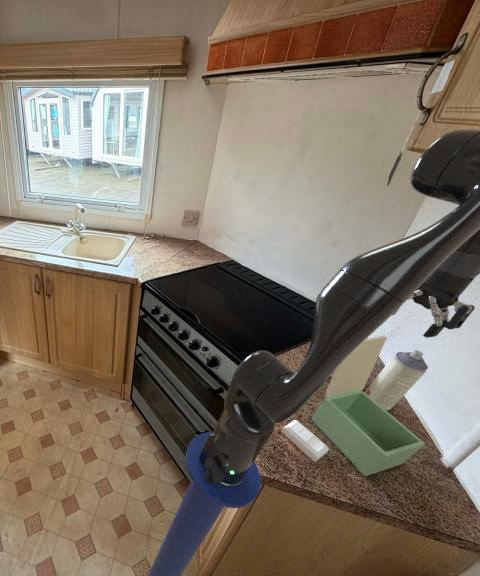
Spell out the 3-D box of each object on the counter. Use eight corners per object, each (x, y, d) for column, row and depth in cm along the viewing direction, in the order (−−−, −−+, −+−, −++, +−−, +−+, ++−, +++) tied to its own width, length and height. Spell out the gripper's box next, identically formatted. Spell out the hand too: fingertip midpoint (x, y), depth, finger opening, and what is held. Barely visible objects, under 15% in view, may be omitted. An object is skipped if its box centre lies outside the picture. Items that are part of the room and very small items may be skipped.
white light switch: (292, 423, 83) (296, 417, 82) (325, 453, 77) (331, 447, 75) (280, 431, 81) (284, 425, 80) (314, 462, 75) (319, 456, 73)
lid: (387, 337, 76) (383, 335, 77) (349, 344, 73) (345, 342, 74) (363, 389, 83) (360, 387, 84) (327, 398, 80) (324, 395, 80)
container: (402, 463, 76) (425, 443, 71) (364, 476, 72) (386, 456, 68) (345, 409, 88) (361, 389, 83) (310, 418, 85) (325, 398, 80)
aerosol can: (384, 395, 94) (427, 347, 83) (395, 414, 88) (442, 365, 77) (359, 389, 95) (397, 340, 84) (368, 406, 90) (410, 357, 79)
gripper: (406, 254, 72) (368, 309, 81) (483, 286, 61) (429, 347, 69) (428, 252, 74) (389, 306, 83) (507, 283, 62) (452, 342, 71)
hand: (407, 325), depth 76 cm, fingers open, 8 cm apart
